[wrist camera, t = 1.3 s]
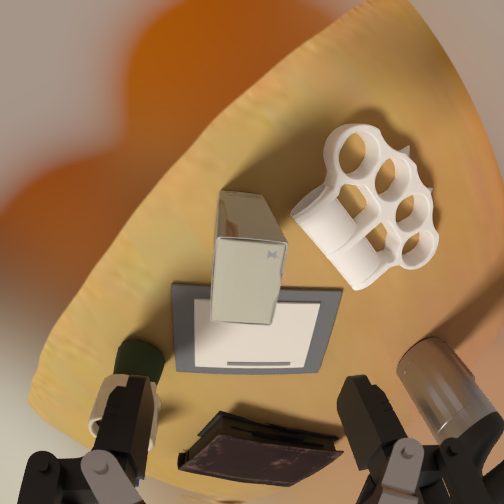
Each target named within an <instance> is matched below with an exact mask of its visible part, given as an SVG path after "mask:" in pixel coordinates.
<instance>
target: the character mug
mask: <svg viewBox="0 0 504 504" xmlns="http://www.w3.org/2000/svg"><path fill="white" fill-rule="evenodd" d="M164 363H165V360H164V358H163V355H162V353H161V352H160V351H158V350H157V349H156V348H154V347H153V346H150V345H148V344H146V343H144V342H140V341H135V340H131V341H126V342H123V343H122V345H121V346H120V347H119V348H118V352H117V356H116V360H115V366H114V372H113V374H112V375H110V376H108V377H106V378H105V379H104V381H103V383H102V385H101V387H100V389H99V392H98V395H97V398H96V401H95V403H94V406H93V409H92V412H91V415H90V418H89V421H88V428H89V431H90V432H91V434H92V435H93V436H94V437H95V438H96V437H97V433H98V430H99V426H100V423H101V419H102V416H103V415H104V414H103V413H104V410H105V407H106V403H107V400H108V397H109V394H110V393H111V392H112V391H113V390H114V389H115V388H116V386H124V387H126V384H127V381H128V377H129V375H140V376H148V377H149V379H150V384H151V389H152V393H153V398H154V416H153V422H152V428H151V434H150V441H149V448H148V452H149V451H151V450H152V449H153V448H154V446H155V440H156V434H157V429H158V424H157V417H158V414H159V412H160V410H161V401H160V399H159V397H158V395H157V394H156V389H157V384H158V382H159V380H160V377H161V374H162V371H163V368H164Z"/></svg>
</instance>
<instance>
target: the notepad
mask: <svg viewBox="0 0 504 504" xmlns="http://www.w3.org/2000/svg"><path fill="white" fill-rule="evenodd" d="M171 288H172V314H173V332H174V347H175V360H176V371H177V372H191V373H209V374H245V375H265V374H301V373H318V371H319V368H320V365H321V362H322V359H323V356H324V353H325V350H326V347H327V343H328V340H329V337H330V334H331V330H332V327H333V323H334V320H335V316H336V313H337V309H338V306H339V302H340V298H341V295H342V291H341V290H316V289H280V291H279V296H278V300H277V305H276V310H275V314H274V319H273V323H272V324H271V325H270V326H263V325H248V324H235V323H224V322H214V321H211V320H210V299H211V285H194V284H177V283H172V285H171Z"/></svg>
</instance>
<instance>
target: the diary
mask: <svg viewBox="0 0 504 504" xmlns="http://www.w3.org/2000/svg"><path fill="white" fill-rule="evenodd" d="M267 424H268V423H267ZM269 425H271V426H269ZM269 425H264V424H260V423H256V422H253V421H250V420H248V419H245V418H243V417H239V416H236V415H232V414H229V413H226V412H222V411H219V412H218V413H217V414H216V415H215V417H214V418H213V419H212V420H211V421H210V422H209V423H208V424H207V425H206V426H205V428H204V429H203V430H202V431H201V432H200V433H199V434H198V435H197V436H200V437H201V438H200V439H199V440H198V441H197V442H196V443H195V444H194V445H193V446H192V447H191V448H190V451H187V450H186V451H187V454H182V453H179V456H178V463H177V465H178V470H181V471H185V472H190V473H195V474H200V475H206V476H212V477H216V478H221V479H226V480H231V481H237V482H244V483H254V484H266V485H274V486H283V487H290V486H292V485H294V484H296V483H298V482H299V481H301V480H303V479H305V478H307V477H309V476H311V475H313V474H314V473H316V472H318V471H319V470H321V469H323V468H324V467H326V466H327V465H329V464H330V463H331V462H333V461H334V460H335V459H337V458H338V457H339V456H341V455H342V454H343V452H344V451H336V449H335V446H334V443H333V442H334V441H335V440H338V439H340V438H338V437H336V436H333V435H327V434H321V433H315V432H309V431H302V430H296V429H290V428H285V427H282V426H277V425H273V424H269ZM183 450H184V449H183Z"/></svg>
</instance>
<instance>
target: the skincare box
mask: <svg viewBox="0 0 504 504" xmlns="http://www.w3.org/2000/svg"><path fill="white" fill-rule="evenodd" d="M287 248H288V242H287V240H286V238H285V237H284V235H283V233H282V231H281V229H280V227H279V225H278V223H277V221H276V219H275V218H274V216H273V214H272V212H271V210H270V208H269V206H268V204H267V202H266V201H265V199H264V197H263V195H259V194H252V193H244V192H235V191H220V192H219V197H218V204H217V212H216V221H215V234H214V249H213V263H212V278H211V299H210V320H211V321H214V322H224V323H235V324H248V325H263V326H270V325H271V324H272V323H273V319H274V314H275V310H276V305H277V300H278V296H279V291H280V286H281V280H282V275H283V270H284V264H285V259H286V253H287Z"/></svg>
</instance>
